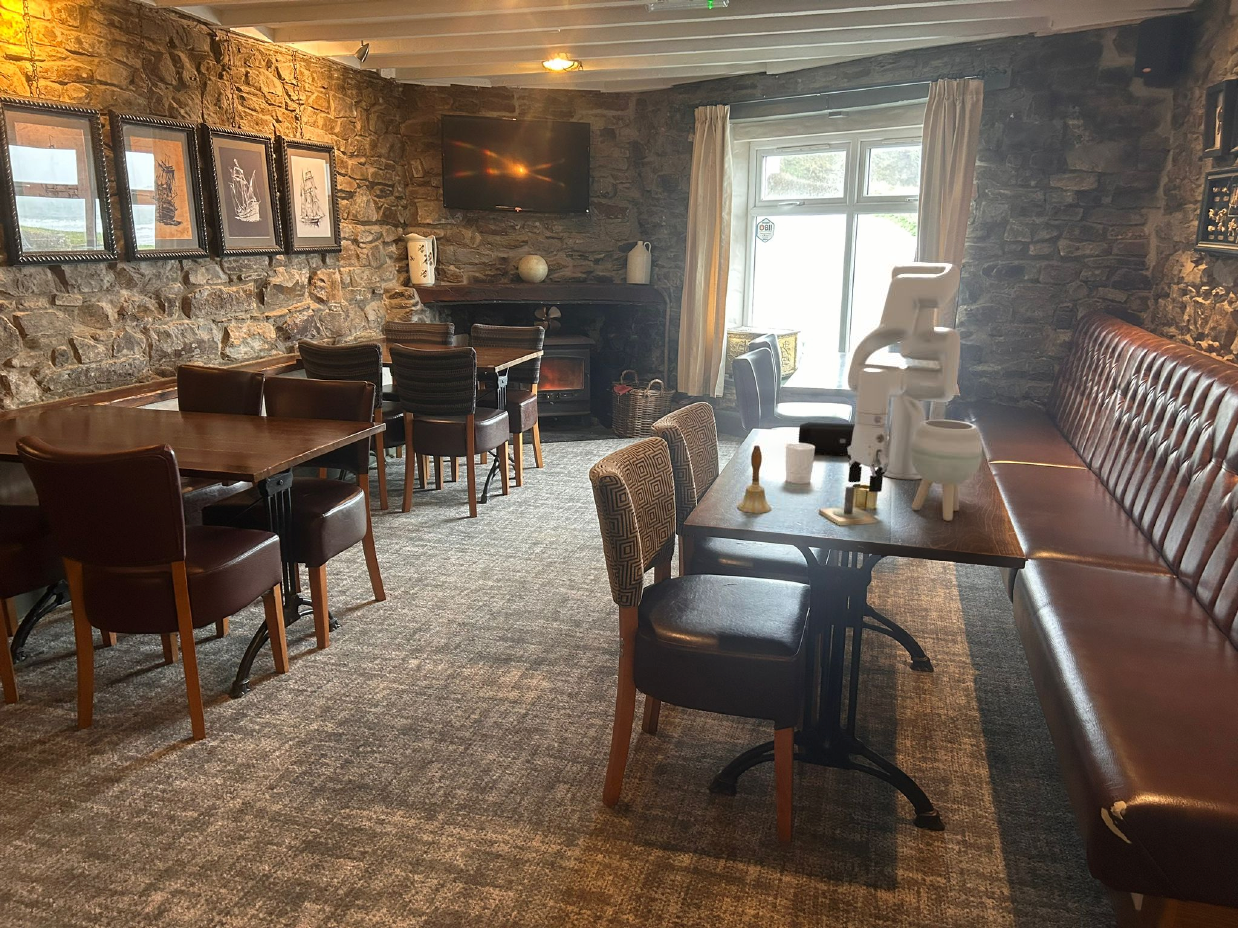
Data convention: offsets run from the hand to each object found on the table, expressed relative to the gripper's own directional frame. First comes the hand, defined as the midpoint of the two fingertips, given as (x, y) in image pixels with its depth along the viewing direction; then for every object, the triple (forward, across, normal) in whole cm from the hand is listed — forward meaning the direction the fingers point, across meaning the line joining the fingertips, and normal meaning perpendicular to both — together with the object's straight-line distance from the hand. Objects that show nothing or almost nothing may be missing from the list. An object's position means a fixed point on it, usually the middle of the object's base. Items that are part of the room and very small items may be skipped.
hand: (864, 486), depth 213 cm
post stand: (+6, -8, +8) cm, 13 cm away
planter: (+5, -9, -16) cm, 19 cm away
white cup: (+5, +26, +4) cm, 27 cm away
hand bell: (+6, +4, +27) cm, 28 cm away
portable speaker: (+4, +54, -24) cm, 59 cm away
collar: (+5, 0, 0) cm, 5 cm away
